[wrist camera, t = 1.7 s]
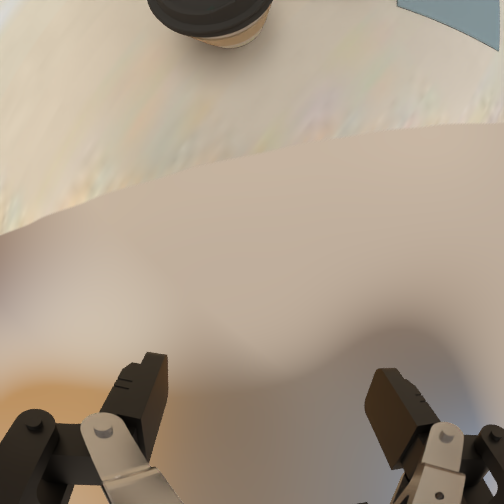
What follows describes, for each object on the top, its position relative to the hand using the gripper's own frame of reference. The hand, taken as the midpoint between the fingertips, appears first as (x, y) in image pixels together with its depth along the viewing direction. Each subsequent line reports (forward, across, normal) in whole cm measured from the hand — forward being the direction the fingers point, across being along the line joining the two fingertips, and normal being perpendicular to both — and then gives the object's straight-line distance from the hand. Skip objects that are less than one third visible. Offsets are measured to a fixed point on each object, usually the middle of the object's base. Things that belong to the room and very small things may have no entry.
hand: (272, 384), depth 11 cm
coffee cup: (+23, +5, -24) cm, 33 cm away
